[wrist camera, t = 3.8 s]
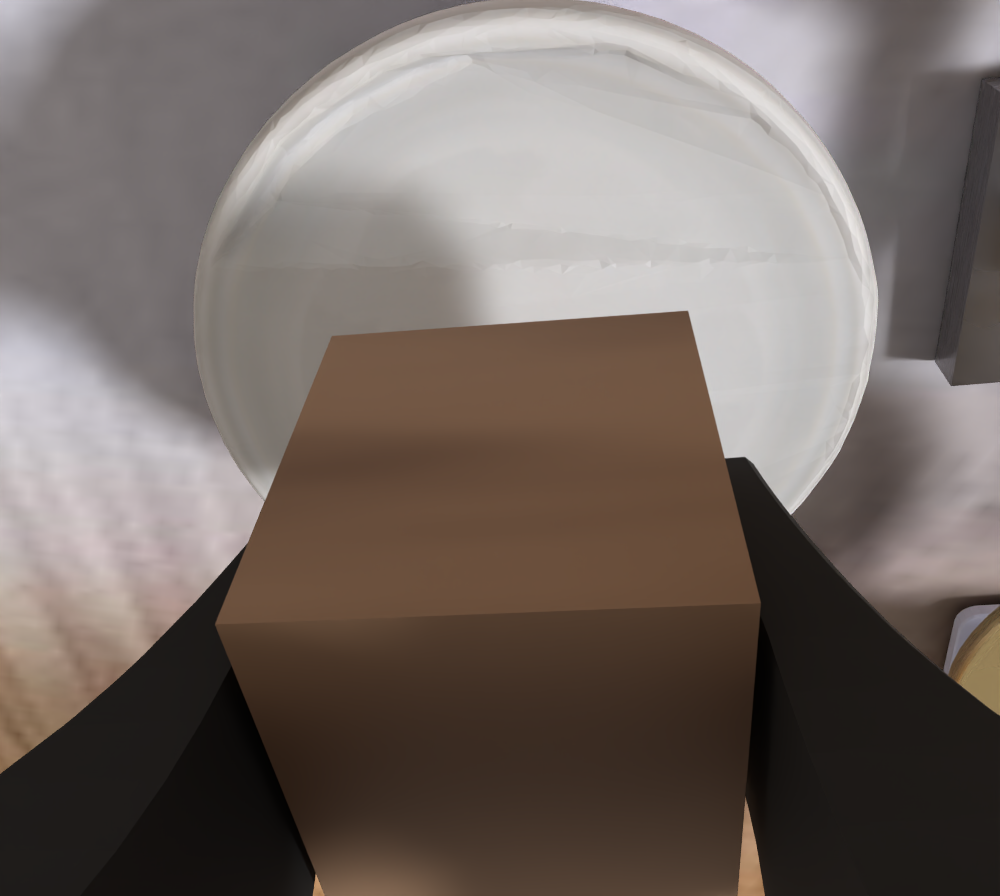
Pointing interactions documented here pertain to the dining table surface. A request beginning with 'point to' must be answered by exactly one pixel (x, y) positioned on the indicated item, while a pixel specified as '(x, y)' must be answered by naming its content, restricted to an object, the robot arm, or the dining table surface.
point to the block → (505, 616)
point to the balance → (977, 340)
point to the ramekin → (542, 222)
